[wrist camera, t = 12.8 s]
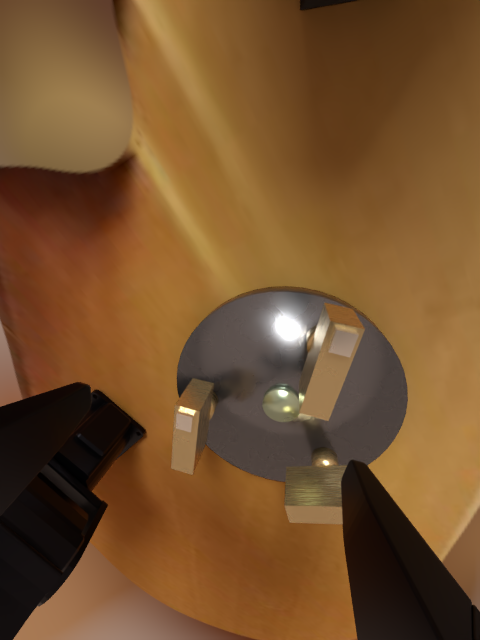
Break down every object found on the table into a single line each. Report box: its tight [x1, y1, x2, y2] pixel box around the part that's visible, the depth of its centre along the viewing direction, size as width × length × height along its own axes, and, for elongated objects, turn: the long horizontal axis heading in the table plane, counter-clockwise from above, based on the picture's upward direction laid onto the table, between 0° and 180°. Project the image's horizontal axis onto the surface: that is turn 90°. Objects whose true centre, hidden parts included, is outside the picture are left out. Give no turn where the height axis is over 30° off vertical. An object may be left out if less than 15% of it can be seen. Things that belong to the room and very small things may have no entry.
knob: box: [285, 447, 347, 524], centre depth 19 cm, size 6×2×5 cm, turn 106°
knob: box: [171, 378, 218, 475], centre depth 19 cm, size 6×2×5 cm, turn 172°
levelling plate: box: [177, 286, 408, 482], centre depth 20 cm, size 17×17×2 cm
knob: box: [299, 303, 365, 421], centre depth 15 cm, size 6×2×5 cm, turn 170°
